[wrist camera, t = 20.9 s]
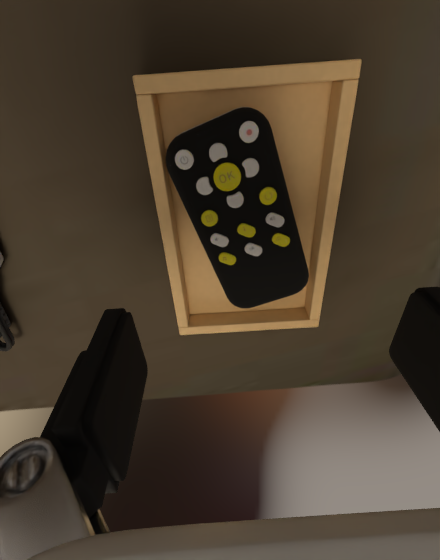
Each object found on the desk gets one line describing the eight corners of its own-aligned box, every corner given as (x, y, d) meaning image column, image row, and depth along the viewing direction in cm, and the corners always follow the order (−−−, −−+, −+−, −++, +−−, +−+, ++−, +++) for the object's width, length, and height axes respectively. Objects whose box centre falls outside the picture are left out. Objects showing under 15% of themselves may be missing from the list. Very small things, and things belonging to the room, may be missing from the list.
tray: (140, 77, 16) (131, 75, 14) (345, 62, 16) (362, 58, 14) (181, 318, 25) (179, 335, 23) (310, 310, 25) (318, 327, 23)
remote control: (232, 302, 24) (234, 318, 22) (159, 141, 17) (153, 147, 15) (308, 277, 22) (315, 292, 21) (259, 96, 16) (265, 96, 14)
